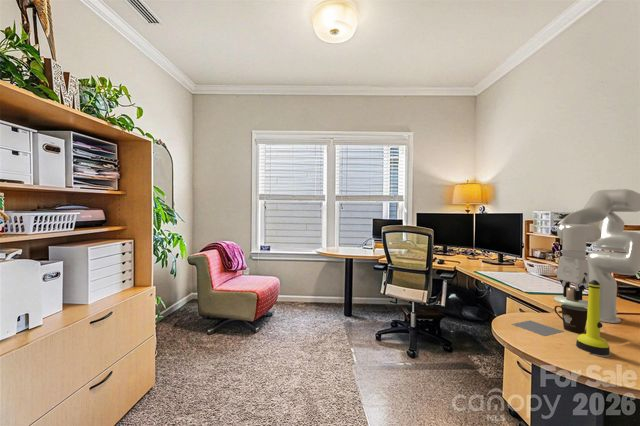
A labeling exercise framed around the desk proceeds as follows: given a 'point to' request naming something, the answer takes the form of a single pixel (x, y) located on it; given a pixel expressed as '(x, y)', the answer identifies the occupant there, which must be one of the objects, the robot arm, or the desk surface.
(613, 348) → the desk surface
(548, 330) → the mat
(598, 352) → the flashlight
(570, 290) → the lid
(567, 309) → the coffee mug
